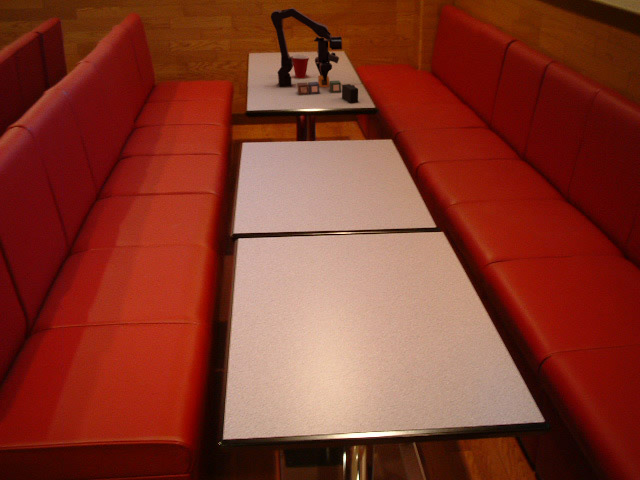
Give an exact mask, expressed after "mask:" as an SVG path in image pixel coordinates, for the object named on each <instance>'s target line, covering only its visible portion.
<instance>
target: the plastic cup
mask: <svg viewBox="0 0 640 480" xmlns="http://www.w3.org/2000/svg"><path fill="white" fill-rule="evenodd" d="M291 56H293V62H294V64H293V71H294V76H295V78H296V79H303V78H304V79H305V78H306V76H307V70H308V63H309V59H310V56H309V55H304V54H292V55H291Z"/></svg>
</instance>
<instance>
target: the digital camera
mask: <svg viewBox="0 0 640 480" xmlns="http://www.w3.org/2000/svg"><path fill="white" fill-rule="evenodd" d="M341 99H342V100H344V101H346V102H348V103H349V104H355V103H356V104H357V103H359V88H358V87H356V86H355V85H354V84H351V83H347V84H341Z"/></svg>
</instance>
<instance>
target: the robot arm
mask: <svg viewBox="0 0 640 480" xmlns="http://www.w3.org/2000/svg"><path fill="white" fill-rule="evenodd" d="M291 17H292V18H294V19H295V20H297V21H298V22H300V23H302V24H303V25H304V26H306V27H308V28H310V29H311V30H312V31H313V33H315V35H317V36H316V37H315V38H314V39H313V42H317V51H316V54H317V56H315V58H314V63H315V66H316V68H317V70H318V73H319V76H323V79H324V81H326V79H327V76H329V72H330V71H331V70H332V69H333V64H332V63H331V62H333V63H335V64H338V62H339V60H340V57H339V56H338V55H336V52H333V51H336V50H337V51H342V50H343V37H342V36H341V35H340V36H339V35H338V36H333V35H332V34H331V32H330V29H329V26H328V25H326V24H324V23H322V22H319V21H315V20H314V19H312V18H310V17H309V16H307V15H305V14H304V13H302V12H301V11H299V10H297V9H296V8H295V7H290V8H286V9H285V8H284V9H275V10H274V11H272V13H271V15H270V19H271V23H272V25H273V27H274V29H275V32H276V36H277V41H278V42H277V43H278V47H279V52H280V66H281V67H280V68H279V69H278V71H277V78H278V79H277V80H278V81H277V82H278V83H277V85H278V87H279V88H286V87H292V76H291V74H290V72H291V71H292V69H294V66H293V64H294V62H293V56H292V55H290V53H289V49H288V44H287V39H286V34H285V28H284V21H285V19H289V18H291ZM329 49H330V50H331V51H332V50H333V51H332V52H330V50H329Z"/></svg>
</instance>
